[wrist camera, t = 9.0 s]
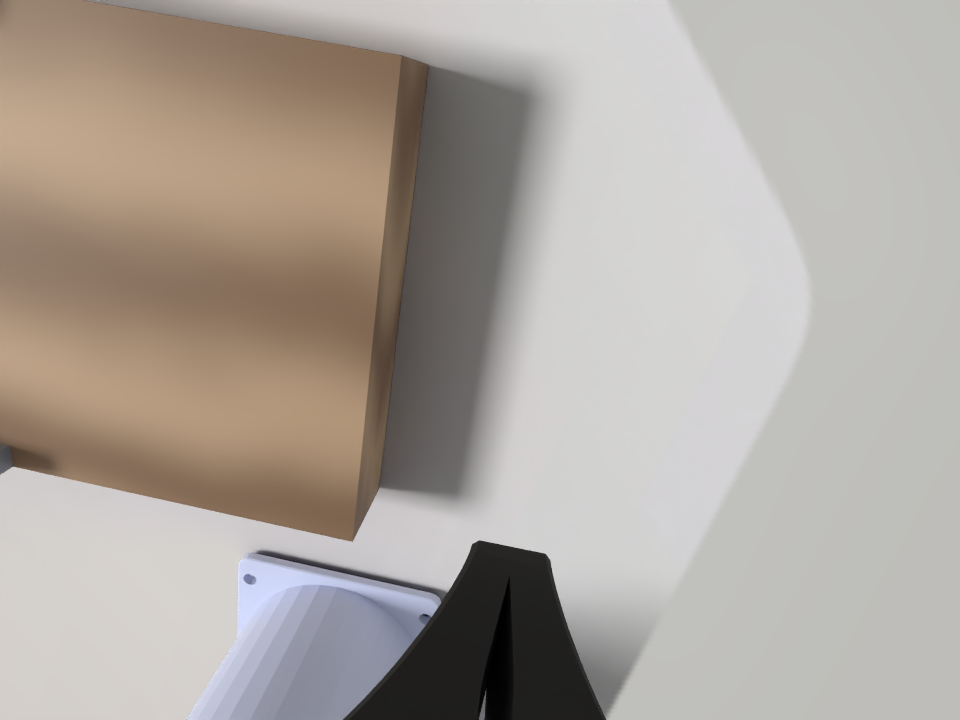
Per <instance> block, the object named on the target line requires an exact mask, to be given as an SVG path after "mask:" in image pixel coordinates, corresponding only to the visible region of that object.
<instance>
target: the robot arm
mask: <svg viewBox="0 0 960 720" xmlns="http://www.w3.org/2000/svg"><path fill="white" fill-rule="evenodd" d="M250 574H251V575H253V576H254V577H255V578H254V577H252V576H251V575H250ZM423 614H427V615H429V616H430V617H426V616H424V615H423ZM486 687H487V688H486ZM485 691H486V704H485V720H606V718H605V716H604V714H603V712H602V710H601V708H600V705H599V703H598V701H597V699H596V696H595V694H594V692H593V690H592V687H591V685H590V683H589V680H588V678H587V676H586V673H585V671H584V668H583V666H582V663H581V661H580V658H579V656H578V653H577V650H576V648H575V645H574V642H573V639H572V637H571V634H570V631H569V629H568V626H567V623H566V620H565V617H564V614H563V610H562V607H561V604H560V600H559V597H558V594H557V590H556V586H555V582H554V578H553V573H552V568H551V562H550V559H549V558H548V557H547V555H546V554H544V553H539V552H534V551H529V550H524V549H519V548H514V547H509V546H504V545H499V544H495V543H490V542H485V541H480V540H479V541H477V542H476V543H474V544H472V547H471V550H470V553H469V555H468V557H467V559H466V562H465V564H464V566H463V568H462V570H461V571H460V573H459V575H458V577H457V578H456V580H455V582H454V584H453V585H452V587H451V589H450V590H449V592H448V593H447V595H446V596H445V598H444V599H443V601H442V602H441V600H440V598H439V597H438V596H436V595H435V594H432V593H429V592H425V591H420V590H416V589H411V588H407V587H402V586H398V585H394V584H389V583H385V582H380V581H376V580H371V579H367V578H362V577H358V576H354V575H349V574H345V573H340V572H336V571H331V570H327V569H322V568H318V567H314V566H309V565H305V564H300V563H296V562H291V561H287V560H282V559H278V558H274V557H269V556H265V555H260V554H256V553H248V554H246V555H245V556H244V557H243V558H242V559H241V561H240V562H239V565H238V637H237V639H236V641H235V642H234V644H233V645H232V647H231V649H230V650H229V652H228V653H227V655H226V656H225V658H224V660H223V661H222V663H221V664H220V666H219V668H218V669H217V671H216V672H215V674H214V676H213V677H212V679H211V680H210V682H209V684H208V685H207V687H206V688H205V690H204V692H203V693H202V695H201V696H200V698H199V700H198V701H197V703H196V704H195V706H194V708H193V709H192V711H191V712H190V714H189V715H188V717H187V719H186V720H479V716H480V712H481V708H482V704H483V700H484V696H485Z"/></svg>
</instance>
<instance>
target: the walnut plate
mask: <svg viewBox="0 0 960 720" xmlns="http://www.w3.org/2000/svg"><path fill="white" fill-rule="evenodd" d="M427 74H428V65H427V64H424V63H422V62H419V61H416V60H413V59H410V58H407V57H404V56H402V55H396V54H390V53H384V52H379V51H373V50H367V49H361V48H356V47H350V46H344V45H338V44H332V43H327V42H321V41H315V40H309V39H304V38H298V37H292V36H286V35H281V34H275V33H269V32H263V31H258V30H252V29H246V28H240V27H234V26H229V25H223V24H217V23H211V22H206V21H200V20H194V19H188V18H183V17H177V16H171V15H165V14H160V13H154V12H148V11H142V10H137V9H131V8H125V7H119V6H113V5H108V4H102V3H96V2H90V1H85V0H0V444H5V445H9V446H10V450H11V457H12V463H13V467H18V468H22V469H27V470H31V471H36V472H40V473H45V474H49V475H54V476H58V477H63V478H68V479H72V480H77V481H81V482H86V483H90V484H95V485H99V486H104V487H108V488H113V489H117V490H122V491H126V492H131V493H135V494H140V495H144V496H149V497H153V498H158V499H162V500H167V501H171V502H176V503H180V504H185V505H189V506H194V507H198V508H203V509H207V510H212V511H216V512H221V513H225V514H230V515H234V516H239V517H243V518H248V519H252V520H257V521H261V522H266V523H270V524H275V525H279V526H284V527H288V528H293V529H297V530H302V531H306V532H311V533H315V534H320V535H324V536H329V537H334V538H338V539H343V540H347V541H352V542H353V540H354V538H355V536H356V534H357V532H358V530H359V528H360V526H361V524H362V522H363V520H364V518H365V516H366V514H367V512H368V510H369V508H370V506H371V504H372V502H373V500H374V498H375V496H376V494H377V492H378V490H379V485H380V476H381V468H382V459H383V450H384V442H385V433H386V425H387V416H388V408H389V399H390V390H391V382H392V373H393V365H394V356H395V348H396V339H397V331H398V322H399V313H400V305H401V296H402V288H403V279H404V271H405V262H406V253H407V245H408V236H409V228H410V219H411V211H412V202H413V193H414V185H415V176H416V168H417V159H418V151H419V142H420V133H421V125H422V116H423V108H424V99H425V91H426V82H427Z"/></svg>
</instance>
